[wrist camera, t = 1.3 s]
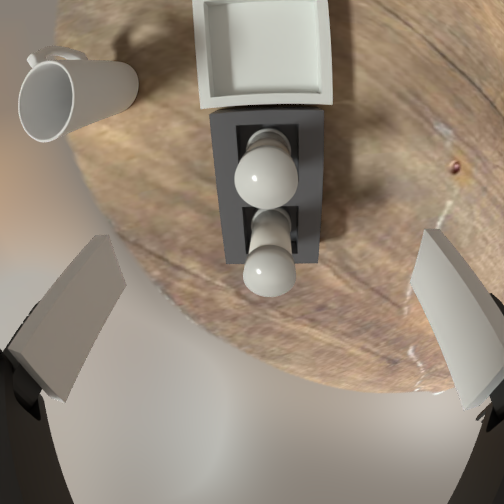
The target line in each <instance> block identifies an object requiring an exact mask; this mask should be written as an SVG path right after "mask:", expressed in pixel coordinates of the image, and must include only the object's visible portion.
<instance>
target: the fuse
mask: <svg viewBox="0 0 504 504" xmlns="http://www.w3.org/2000/svg"><path fill="white" fill-rule="evenodd" d="M251 230H252V235H251V242H250V249H249V255H248V256H247V258H246V261H245V267H244V273H243V279H244V282H245V284H246V286H247V287H248V288H249V289H250V290H251V291H252V292H254V293H255V294H257V295H260V296H264V297H276V296H280V295H282V294H285V293H286V292H288V291H289V290H290V289H291V288H292V287H293V285H294V283H295V281H296V269H295V261H294V258H293V256H292V249H291V237H290V231H291V217H290V214H289V212H288V210H287V209H286V208H285V207H284V206H280V207H277V208H274V209H260V208H256V210H255V211H254V213H253V216H252V222H251Z"/></svg>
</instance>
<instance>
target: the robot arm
mask: <svg viewBox="0 0 504 504" xmlns="http://www.w3.org/2000/svg"><path fill="white" fill-rule="evenodd" d="M410 284H411V286H412V288H413V290H414V292H415V294H416V296H417V298H418V300H419V302H420V304H421V306H422V308H423V310H424V312H425V314H426V316H427V318H428V321H429V323H430V325H431V327H432V329H433V332H434V334H435V336H436V339H437V341H438V343H439V346H440V348H441V350H442V353H443V355H444V358H445V360H446V363H447V365H448V368H449V371H450V373H451V376H452V379H453V381H454V384H455V387H456V390H457V392H458V396H459V399H460V402H461V405H462V408H463V410H464V411H465V410H468V409H471V408H474V407H477V406H480V405H481V404H482V403H483V402H484V401H485V399H487V398H488V397H489V396H490V398H491V401H492V402H491V403H490V404H489V405H488V406H487V407H486V408H485V409H484V410H483V411H482V412H481V413H480V414H479V415H478V416H477V418H476V420H477V421H478V420H479V419H480V418H481V417H482V416H484V415H485V417H484V419H483V420H482V426H481V429H480V432H479V435H478V438H477V441H476V443H475V446H474V448H473V451H472V453H471V456H470V458H469V461H468V463H467V465H466V467H465V470H464V472H463V474H462V476H461V478H460V480H459V483H458V485H457V487H456V489H455V491H454V493H453V495H452V496H451V498H450V500H449V502H448V504H504V305H503V304H502V302H501V301H500V300H499V299H497V298H496V297H495V296H494V295H493V294H492V293H490V294H489V293H488V291H487V290H486V288H485V287H484V285H483V284H482V282H481V281H480V280H479V278H478V277H477V276H476V274H475V273H474V271H473V270H472V269H471V267H470V266H469V265H468V264H467V262H466V261H465V260H464V258H463V257H462V256H461V255H460V253H459V252H458V251H457V250H456V248H455V247H454V246H453V245H452V243H451V242H450V241H449V240H448V239H447V237H446V236H445V235H444V234H443V233H442V232H441V230H440V229H424V233H423V237H422V241H421V245H420V249H419V253H418V256H417V260H416V264H415V267H414V270H413V274H412V277H411V280H410ZM125 287H126V283H125V280H124V277H123V275H122V272H121V269H120V266H119V264H118V261H117V258H116V255H115V252H114V249H113V246H112V243H111V240H110V237H109V235H96V236H94V237H93V238H92V240H91V241H90V242H89V243H88V244H87V245H86V246H85V247H84V248H83V250H82V251H81V252H80V253H79V254H78V255H77V257H76V258H75V259H74V260H73V261H72V262H71V263H70V265H69V266H68V267H67V268H66V269H65V270H64V272H63V273H62V274H61V275H60V277H59V278H58V279H57V280H56V282H55V283H54V284H53V285H52V287H51V288H50V289H49V290H48V292H47V293H46V294H45V296H44V297H43V298H42V300H40V301H39V302H38V303H37V304H36V305H35V306H34V307H33V309H32V310H31V311H30V313H29V316H27V317H26V319H25V320H24V321H23V324H21V325H20V327H19V328H18V330H17V331H16V333H15V334H14V336H13V337H12V339H11V341H10V342H9V344H8V345H7V346H6V348H5V349H4V351H3V352H2V350H1V349H0V504H74V503H73V500H72V498H71V495H70V493H69V490H68V488H67V485H66V482H65V479H64V476H63V473H62V471H61V467H60V464H59V461H58V458H57V455H56V451H55V448H54V444H53V440H52V437H51V432H50V428H49V423H48V419H47V414H46V409H45V404H44V400H43V397H42V396H41V395H40V392H41V390H42V389H43V390H44V391H45V392H46V393H47V394H48V395H49V396H50V397H51V398H53V399H55V400H58V401H61V402H63V403H65V402H66V400H67V398H68V396H69V393H70V391H71V389H72V387H73V385H74V383H75V381H76V378H77V376H78V374H79V372H80V370H81V368H82V366H83V364H84V362H85V360H86V358H87V356H88V354H89V352H90V350H91V348H92V346H93V344H94V342H95V340H96V339H97V337H98V335H99V333H100V331H101V329H102V327H103V325H104V324H105V322H106V320H107V318H108V316H109V315H110V313H111V311H112V309H113V307H114V306H115V304H116V302H117V300H118V299H119V297H120V295H121V294H122V292H123V290H124V289H125Z"/></svg>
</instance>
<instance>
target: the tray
mask: <svg viewBox="0 0 504 504" xmlns="http://www.w3.org/2000/svg"><path fill="white" fill-rule="evenodd" d="M192 3H193V20H194V35H195V49H196V62H197V74H198V86H199V97H200V107H201V109H205V108H215V107H226V106H240V105H258V104H325V105H333V88H332V56H331V37H330V23H329V10H328V0H192Z"/></svg>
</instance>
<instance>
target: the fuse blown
mask: <svg viewBox="0 0 504 504" xmlns="http://www.w3.org/2000/svg"><path fill="white" fill-rule="evenodd" d="M234 179H235V187H236V190H237V192H238V194H239V195H240V197H241V198H242V199H243V200H244V201H245V202H247V203H248V204H250V205H251V206H254V207H256V208H260V209H274V208H277V207H280V206H282V205H284V204H286V203H287V202H288V201H289V200H290V199H291V198H292V197H293V195H294V194H295V192H296V189H297V186H298V174H297V170H296V166H295V163H294V161H293V159H292V158H291V146H290V142H289V140H288V138H287V136H286V135H285V134H284V133H283V132H282V131H280V130H279V129H276V128H272V127H264V128H261V129H259V130H257V131H255V132H254V133H253V134H252V135H251V137H250V138H249V140H248V143H247V146H246V153H245V154H244V155H243V157H242V158H241V160H240V162H239V164H238V166H237V169H236V172H235V177H234Z"/></svg>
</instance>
